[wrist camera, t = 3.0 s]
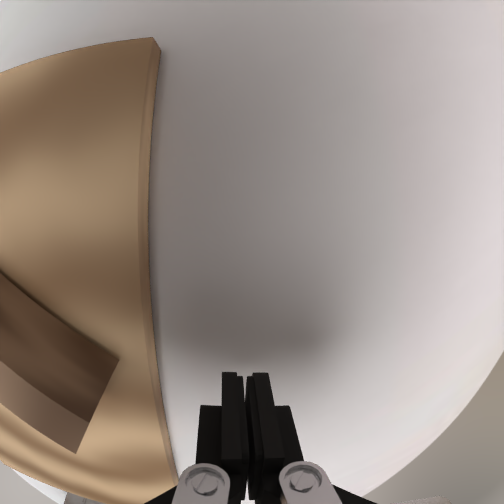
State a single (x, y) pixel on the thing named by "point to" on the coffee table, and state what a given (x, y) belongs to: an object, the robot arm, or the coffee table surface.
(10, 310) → the folding leg
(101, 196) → the stool top
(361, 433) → the coffee table surface
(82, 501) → the coffee box
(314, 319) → the coffee table surface
